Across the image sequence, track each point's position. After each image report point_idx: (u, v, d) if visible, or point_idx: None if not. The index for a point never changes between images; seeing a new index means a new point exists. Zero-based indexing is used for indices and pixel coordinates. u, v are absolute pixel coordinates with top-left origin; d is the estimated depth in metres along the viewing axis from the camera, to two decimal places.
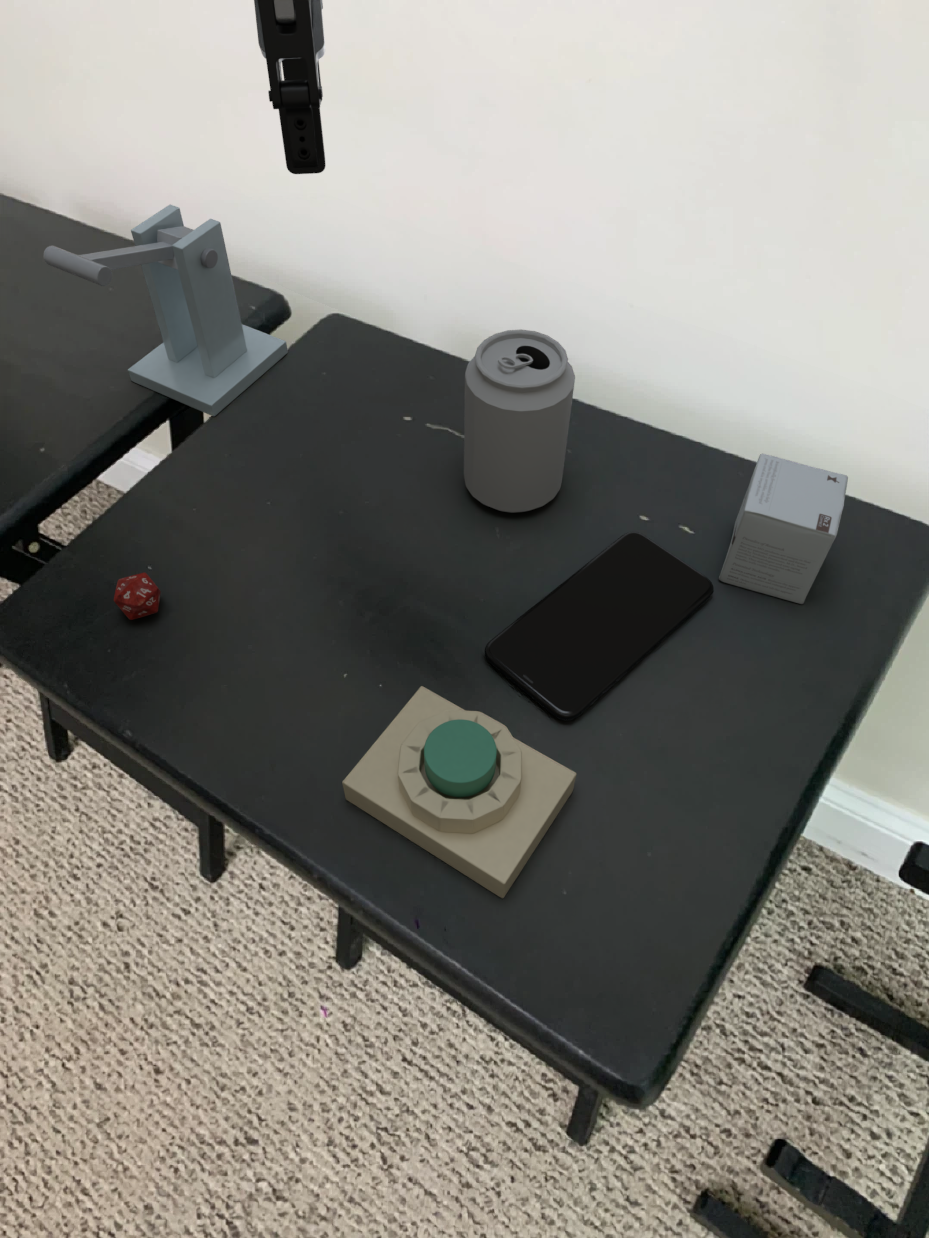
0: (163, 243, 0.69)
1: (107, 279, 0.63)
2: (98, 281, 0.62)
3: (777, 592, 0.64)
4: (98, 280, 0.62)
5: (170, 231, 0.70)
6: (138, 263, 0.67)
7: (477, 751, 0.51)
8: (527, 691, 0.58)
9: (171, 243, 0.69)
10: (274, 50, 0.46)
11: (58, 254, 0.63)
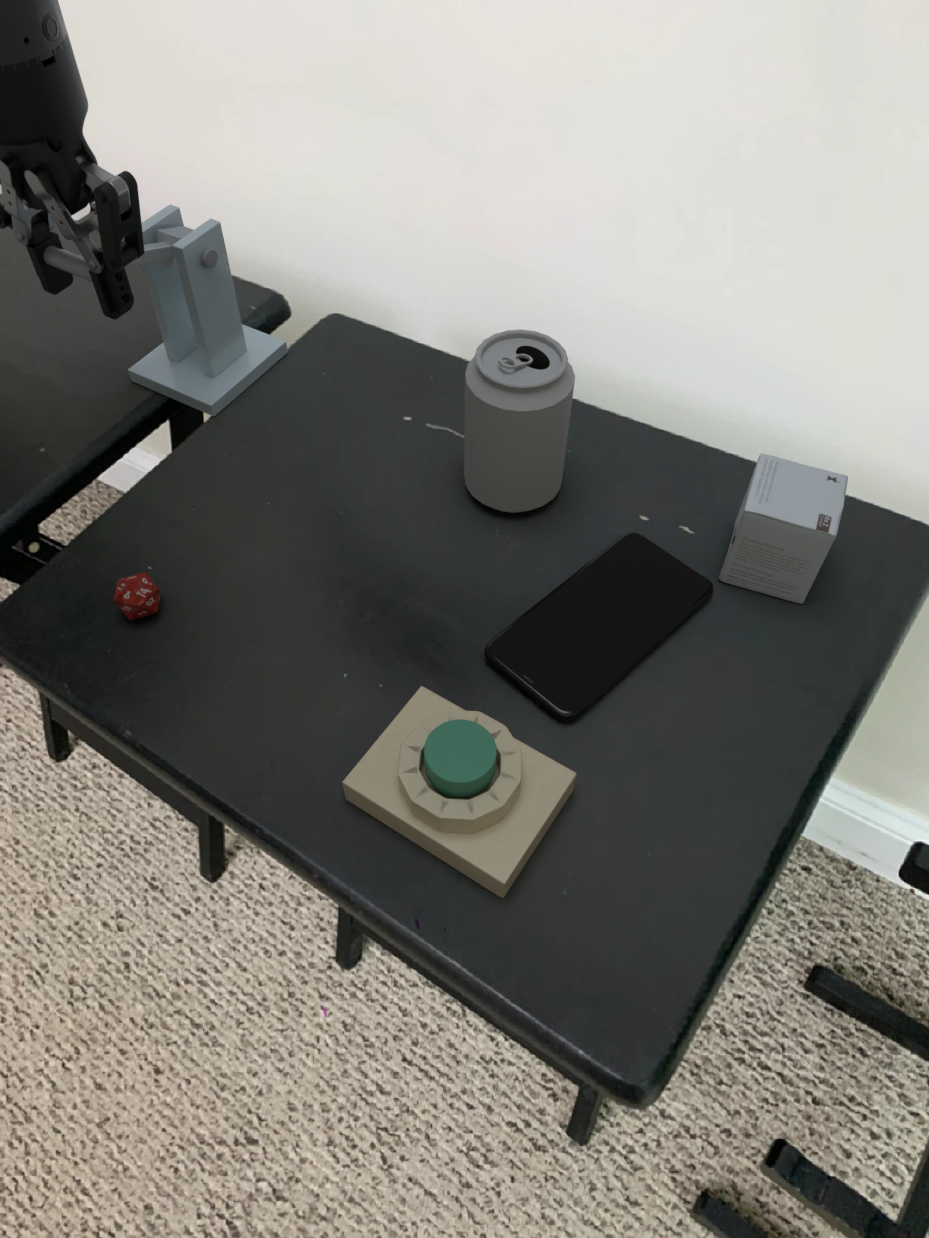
0: (163, 243, 0.69)
1: None
2: None
3: (777, 592, 0.64)
4: None
5: (170, 231, 0.70)
6: (138, 263, 0.67)
7: (477, 751, 0.51)
8: (527, 691, 0.58)
9: (171, 243, 0.69)
10: (119, 234, 0.57)
11: (58, 254, 0.63)
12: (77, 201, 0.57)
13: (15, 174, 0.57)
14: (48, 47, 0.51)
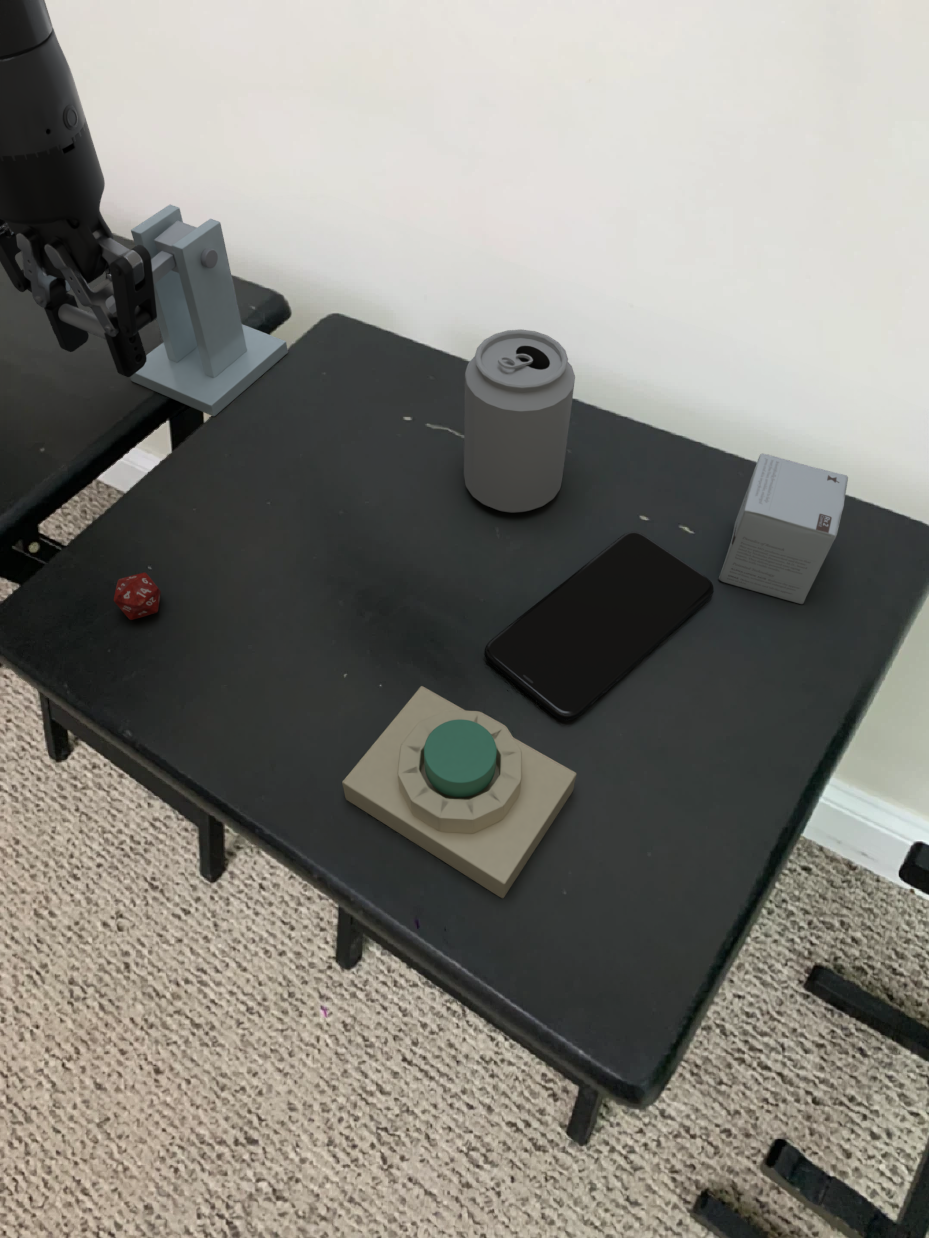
0: (162, 254, 0.70)
1: None
2: None
3: (777, 592, 0.64)
4: None
5: (166, 238, 0.70)
6: None
7: (477, 751, 0.51)
8: (527, 691, 0.58)
9: (170, 252, 0.70)
10: (133, 303, 0.61)
11: (70, 316, 0.66)
12: (94, 271, 0.61)
13: (35, 246, 0.60)
14: (68, 135, 0.54)
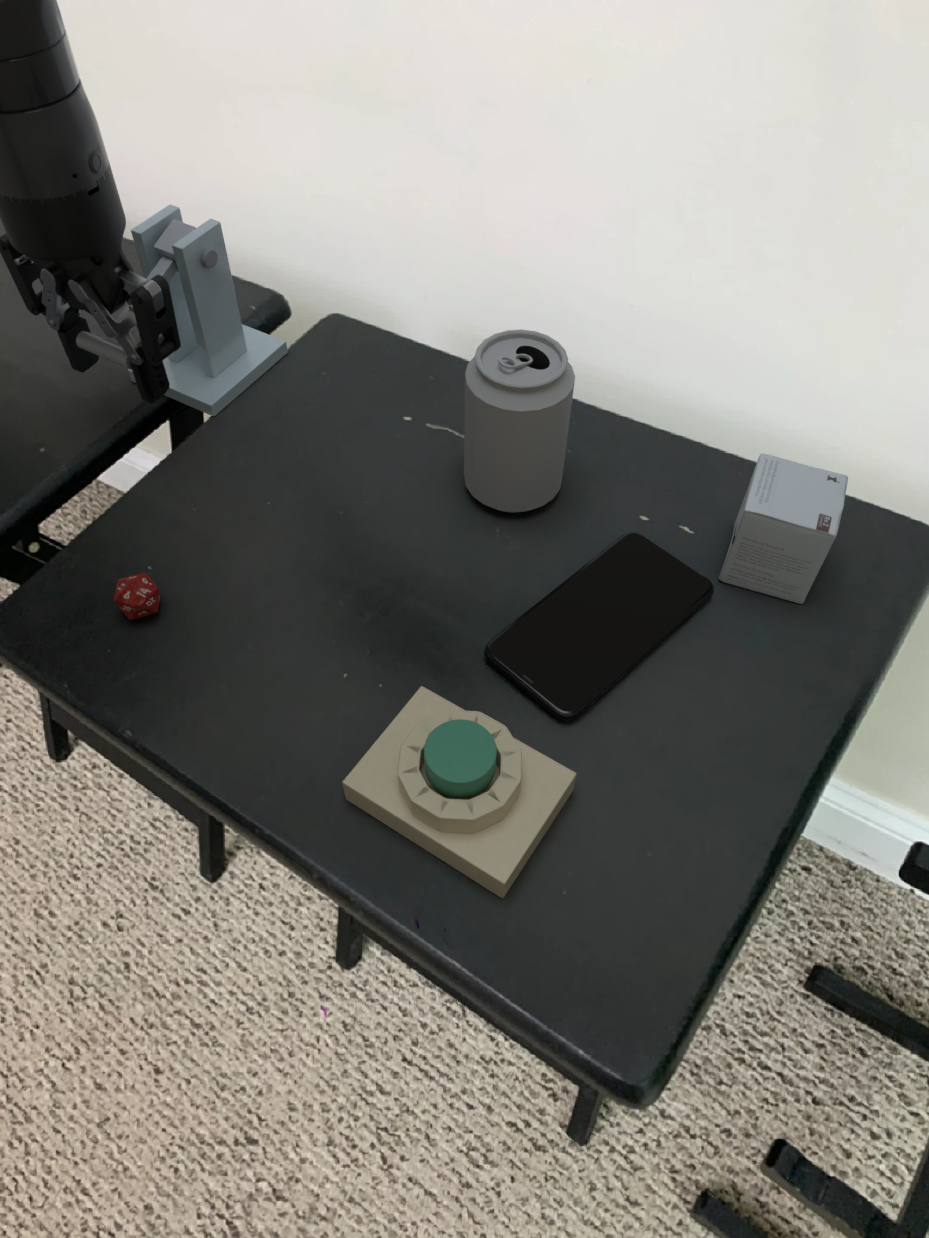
0: (164, 260, 0.70)
1: None
2: (130, 368, 0.68)
3: (777, 592, 0.64)
4: (129, 368, 0.68)
5: (164, 243, 0.70)
6: None
7: (477, 751, 0.51)
8: (527, 691, 0.58)
9: (170, 257, 0.70)
10: (156, 331, 0.63)
11: (87, 345, 0.68)
12: (115, 305, 0.63)
13: (59, 281, 0.63)
14: (93, 179, 0.57)
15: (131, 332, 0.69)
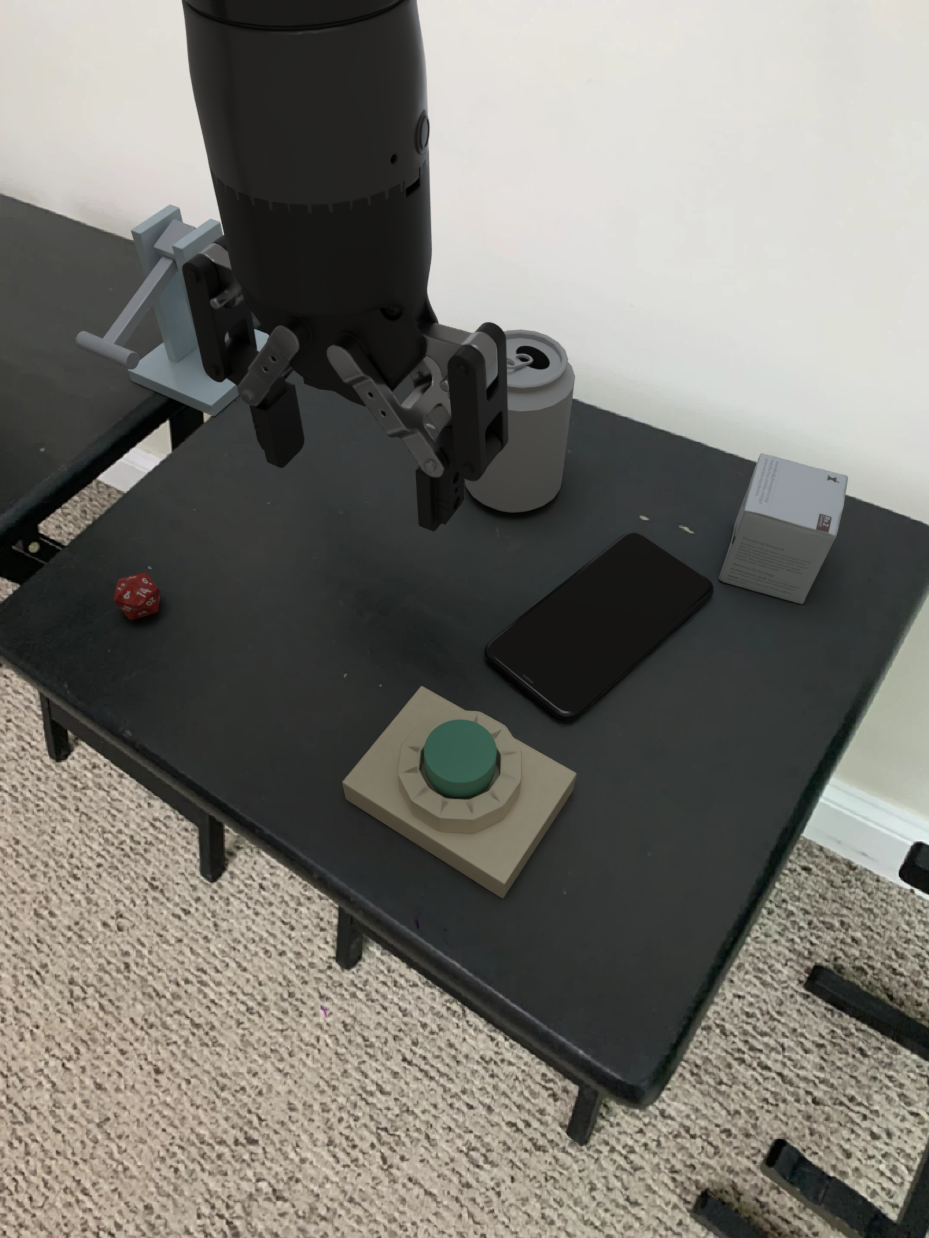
0: (164, 260, 0.70)
1: (135, 360, 0.68)
2: (130, 368, 0.68)
3: (777, 592, 0.64)
4: (129, 368, 0.68)
5: (164, 243, 0.70)
6: (152, 303, 0.70)
7: (477, 751, 0.51)
8: (527, 691, 0.58)
9: (170, 257, 0.70)
10: (484, 421, 0.36)
11: (87, 345, 0.68)
12: (398, 384, 0.37)
13: (303, 345, 0.37)
14: (416, 165, 0.30)
15: (131, 332, 0.69)
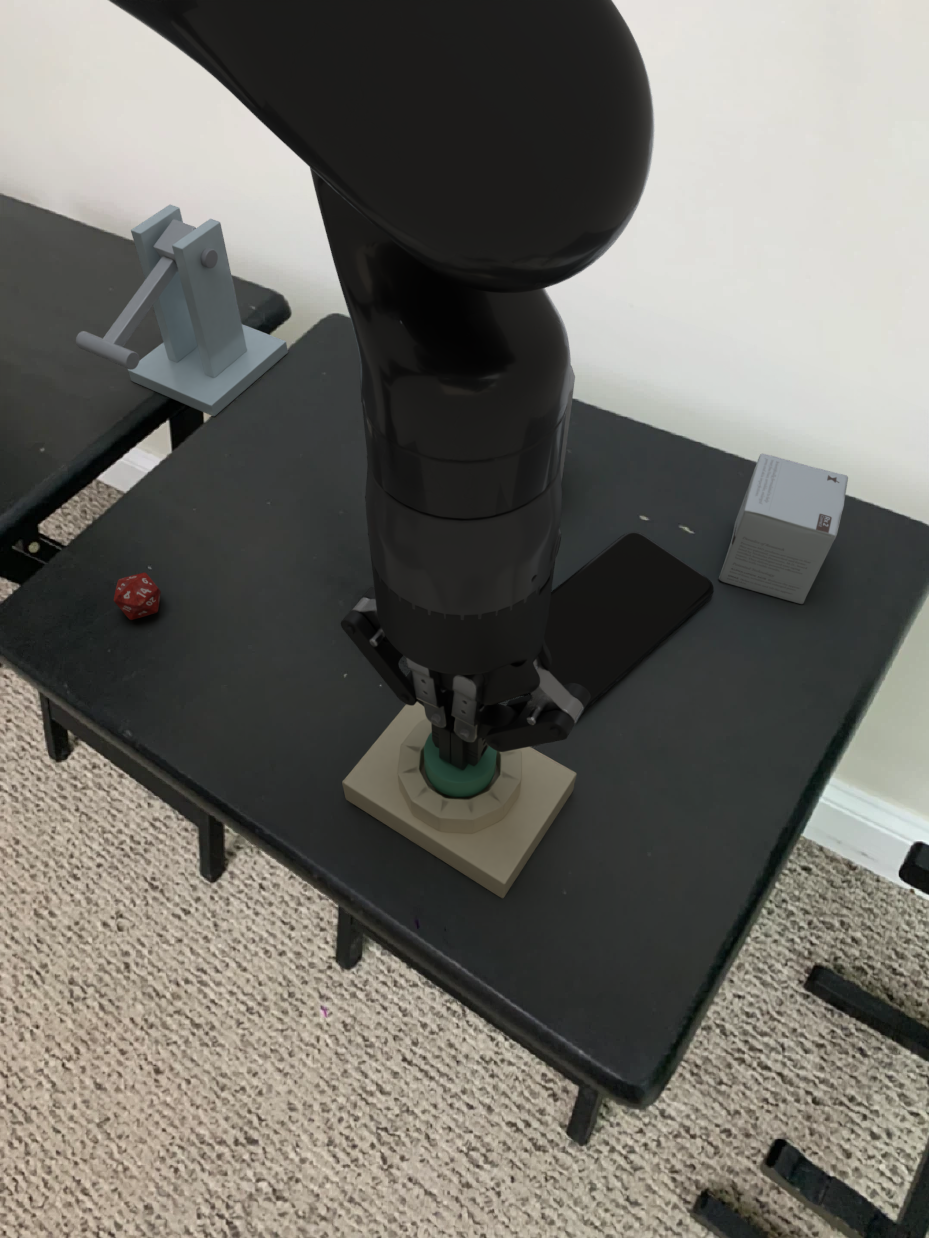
0: (164, 260, 0.70)
1: (135, 360, 0.68)
2: (130, 368, 0.68)
3: (777, 592, 0.64)
4: (129, 368, 0.68)
5: (164, 243, 0.70)
6: (152, 303, 0.70)
7: None
8: None
9: (170, 257, 0.70)
10: None
11: (87, 345, 0.68)
12: None
13: None
14: (549, 570, 0.36)
15: (131, 332, 0.69)
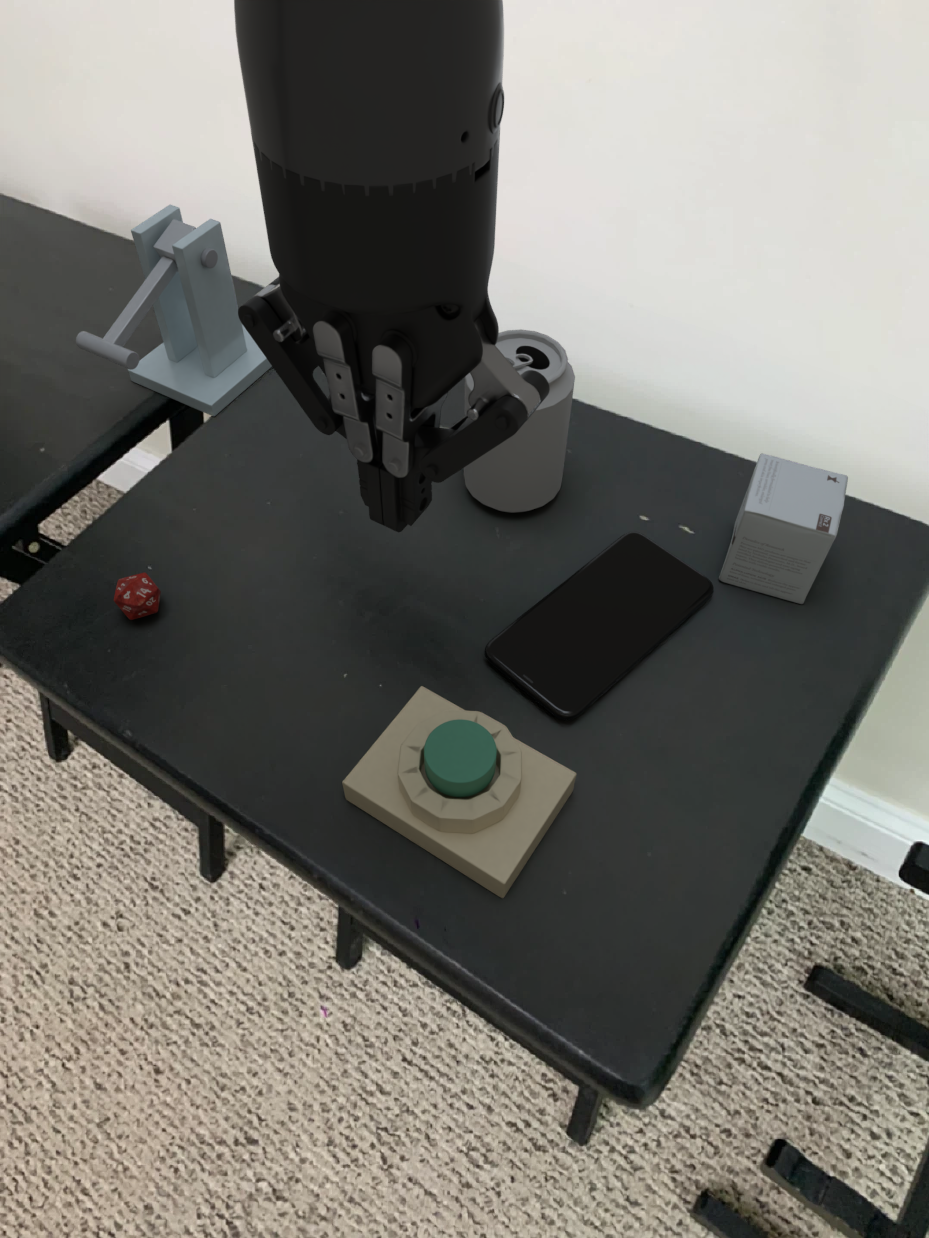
0: (164, 260, 0.70)
1: (135, 360, 0.68)
2: (130, 368, 0.68)
3: (777, 592, 0.64)
4: (129, 368, 0.68)
5: (164, 243, 0.70)
6: (152, 303, 0.70)
7: (477, 751, 0.51)
8: (527, 691, 0.58)
9: (170, 257, 0.70)
10: None
11: (87, 345, 0.68)
12: (449, 390, 0.33)
13: (345, 343, 0.33)
14: (488, 145, 0.27)
15: (131, 332, 0.69)
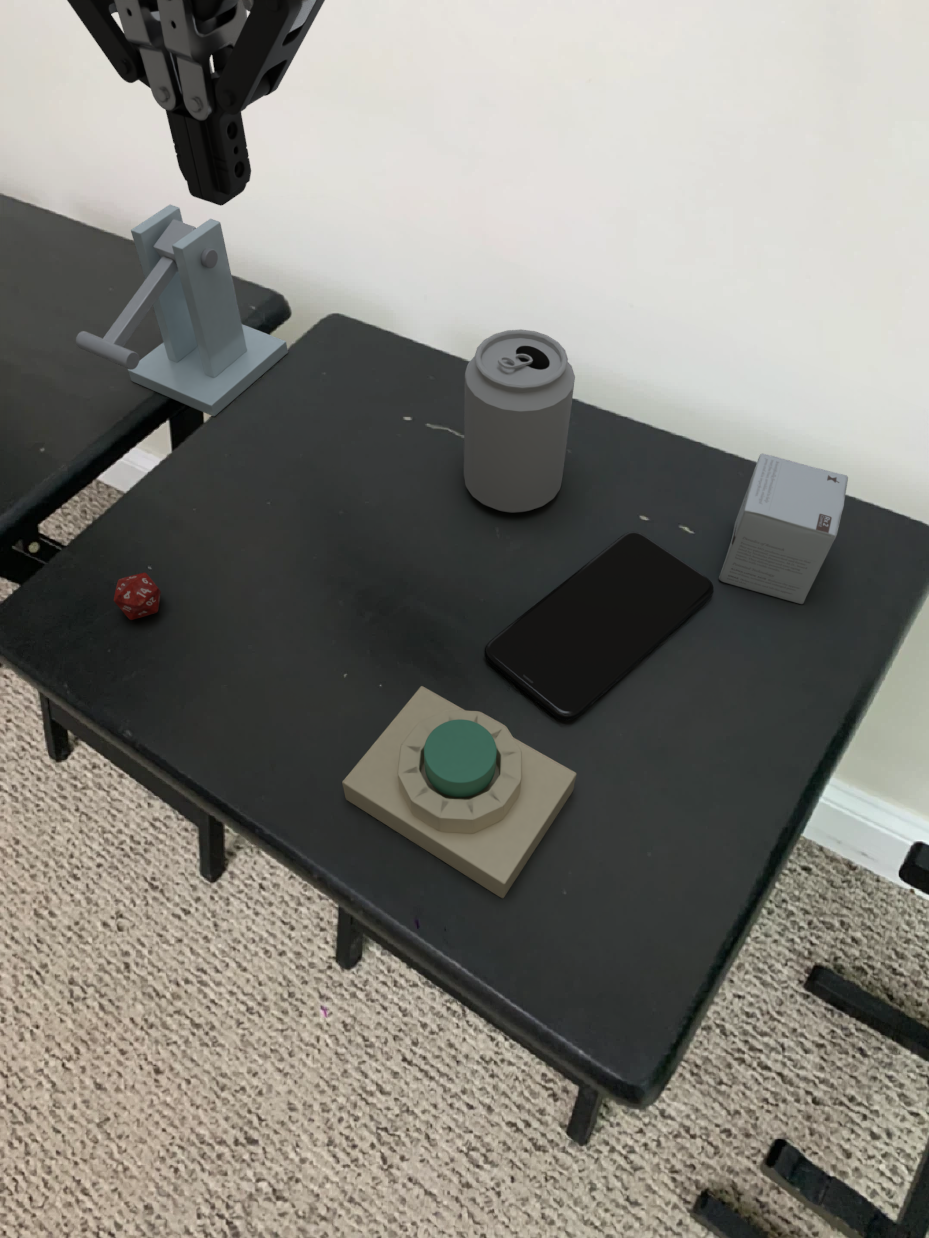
0: (164, 260, 0.70)
1: (135, 360, 0.68)
2: (130, 368, 0.68)
3: (777, 592, 0.64)
4: (129, 368, 0.68)
5: (164, 243, 0.70)
6: (152, 303, 0.70)
7: (477, 751, 0.51)
8: (527, 691, 0.58)
9: (170, 257, 0.70)
10: (268, 64, 0.34)
11: (87, 345, 0.68)
12: None
13: None
14: None
15: (131, 332, 0.69)
